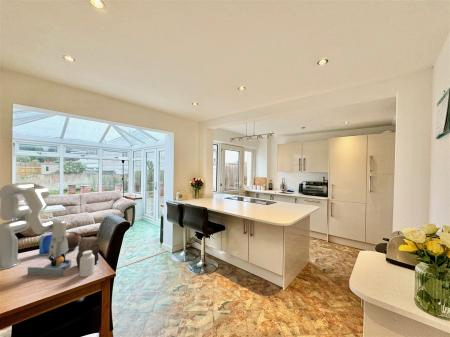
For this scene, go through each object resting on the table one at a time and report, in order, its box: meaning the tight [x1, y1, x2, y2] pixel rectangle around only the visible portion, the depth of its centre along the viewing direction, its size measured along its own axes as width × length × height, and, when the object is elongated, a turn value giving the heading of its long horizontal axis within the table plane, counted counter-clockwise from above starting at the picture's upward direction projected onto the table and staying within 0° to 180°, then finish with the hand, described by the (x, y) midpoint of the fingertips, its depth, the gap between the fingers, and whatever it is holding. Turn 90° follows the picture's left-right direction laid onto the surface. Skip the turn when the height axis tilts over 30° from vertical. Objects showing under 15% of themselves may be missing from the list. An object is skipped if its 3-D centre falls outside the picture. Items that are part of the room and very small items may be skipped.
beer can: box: [38, 232, 52, 256], centre depth 153 cm, size 8×8×16 cm
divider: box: [27, 266, 64, 278], centre depth 123 cm, size 24×1×4 cm, turn 86°
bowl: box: [43, 258, 73, 271], centre depth 132 cm, size 14×14×2 cm
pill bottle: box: [79, 250, 95, 278], centre depth 125 cm, size 8×8×15 cm
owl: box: [75, 235, 100, 271], centre depth 137 cm, size 13×13×20 cm
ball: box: [56, 255, 64, 265], centre depth 132 cm, size 6×6×6 cm
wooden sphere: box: [66, 231, 82, 251], centre depth 161 cm, size 15×15×15 cm
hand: (58, 263), depth 132 cm, fingers closed on ball, 5 cm apart
